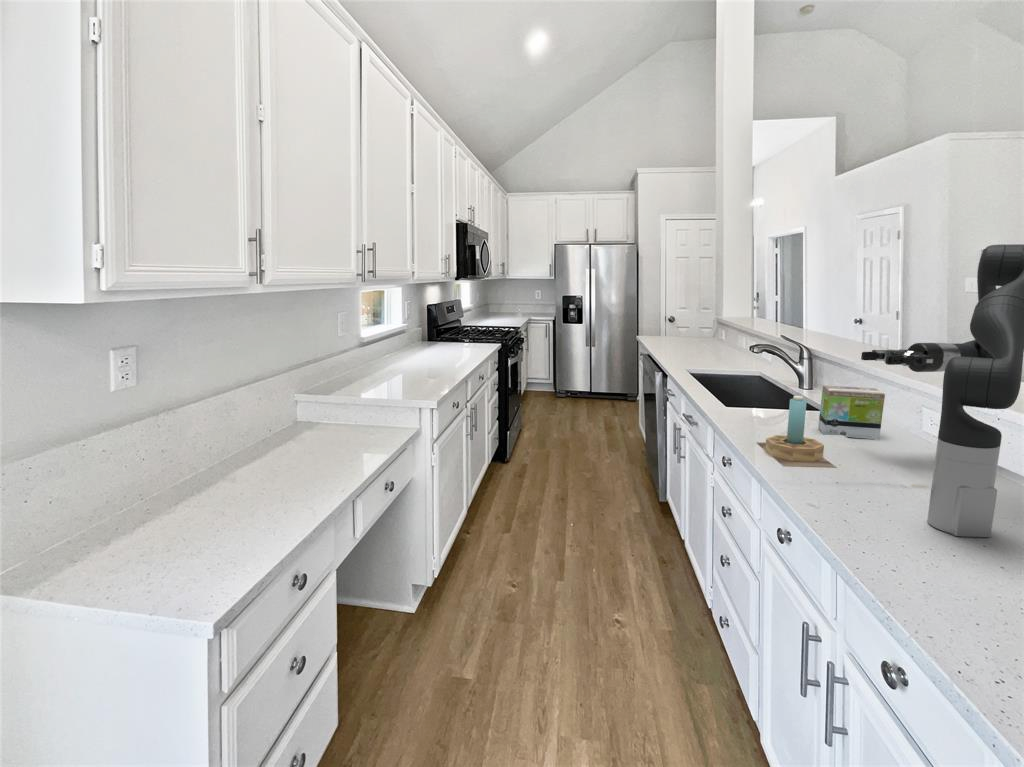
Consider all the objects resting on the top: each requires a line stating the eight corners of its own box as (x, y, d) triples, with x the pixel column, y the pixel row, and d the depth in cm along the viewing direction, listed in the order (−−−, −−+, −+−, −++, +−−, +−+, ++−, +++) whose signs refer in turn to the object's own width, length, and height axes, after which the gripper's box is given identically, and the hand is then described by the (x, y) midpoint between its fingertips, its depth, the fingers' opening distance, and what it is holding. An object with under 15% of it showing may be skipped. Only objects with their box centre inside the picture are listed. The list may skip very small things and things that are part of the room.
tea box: (825, 437, 173) (829, 390, 171) (817, 429, 183) (821, 384, 180) (880, 440, 169) (885, 392, 166) (870, 432, 178) (874, 386, 176)
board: (836, 472, 141) (837, 467, 140) (783, 470, 142) (783, 466, 142) (801, 447, 162) (802, 443, 162) (755, 446, 164) (755, 442, 163)
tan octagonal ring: (829, 462, 145) (830, 449, 144) (777, 460, 146) (778, 448, 146) (808, 447, 158) (809, 435, 157) (760, 446, 159) (761, 434, 158)
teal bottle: (804, 456, 150) (809, 398, 147) (788, 456, 150) (793, 397, 147) (798, 452, 154) (803, 395, 151) (783, 451, 154) (787, 395, 151)
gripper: (912, 340, 150) (856, 340, 149) (959, 345, 136) (897, 346, 135) (909, 367, 151) (853, 368, 150) (954, 375, 138) (893, 376, 136)
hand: (874, 358), depth 142 cm, fingers open, 8 cm apart
